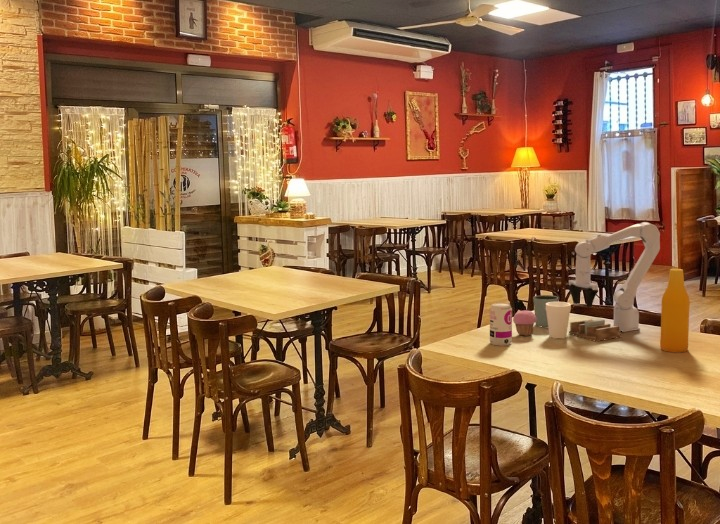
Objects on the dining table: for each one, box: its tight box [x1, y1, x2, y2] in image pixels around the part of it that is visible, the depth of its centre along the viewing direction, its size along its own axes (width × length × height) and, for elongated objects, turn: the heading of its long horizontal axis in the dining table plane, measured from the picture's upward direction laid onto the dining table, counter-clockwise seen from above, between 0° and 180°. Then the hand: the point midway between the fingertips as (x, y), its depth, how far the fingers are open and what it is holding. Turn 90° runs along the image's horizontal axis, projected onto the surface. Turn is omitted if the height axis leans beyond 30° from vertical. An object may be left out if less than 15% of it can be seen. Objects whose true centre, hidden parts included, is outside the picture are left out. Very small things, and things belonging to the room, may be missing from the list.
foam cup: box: [546, 301, 572, 339], centre depth 281 cm, size 10×9×13 cm
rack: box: [568, 319, 621, 342], centre depth 282 cm, size 12×15×4 cm
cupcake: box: [512, 309, 536, 337], centre depth 285 cm, size 9×9×10 cm
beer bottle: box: [659, 268, 691, 353], centre depth 257 cm, size 9×9×29 cm
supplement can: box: [489, 302, 513, 347], centre depth 273 cm, size 8×8×15 cm
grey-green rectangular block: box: [585, 318, 606, 334], centre depth 281 cm, size 8×2×5 cm, turn 116°
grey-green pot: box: [532, 294, 559, 328], centre depth 301 cm, size 10×10×12 cm
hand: (582, 305), depth 292 cm, fingers open, 7 cm apart
